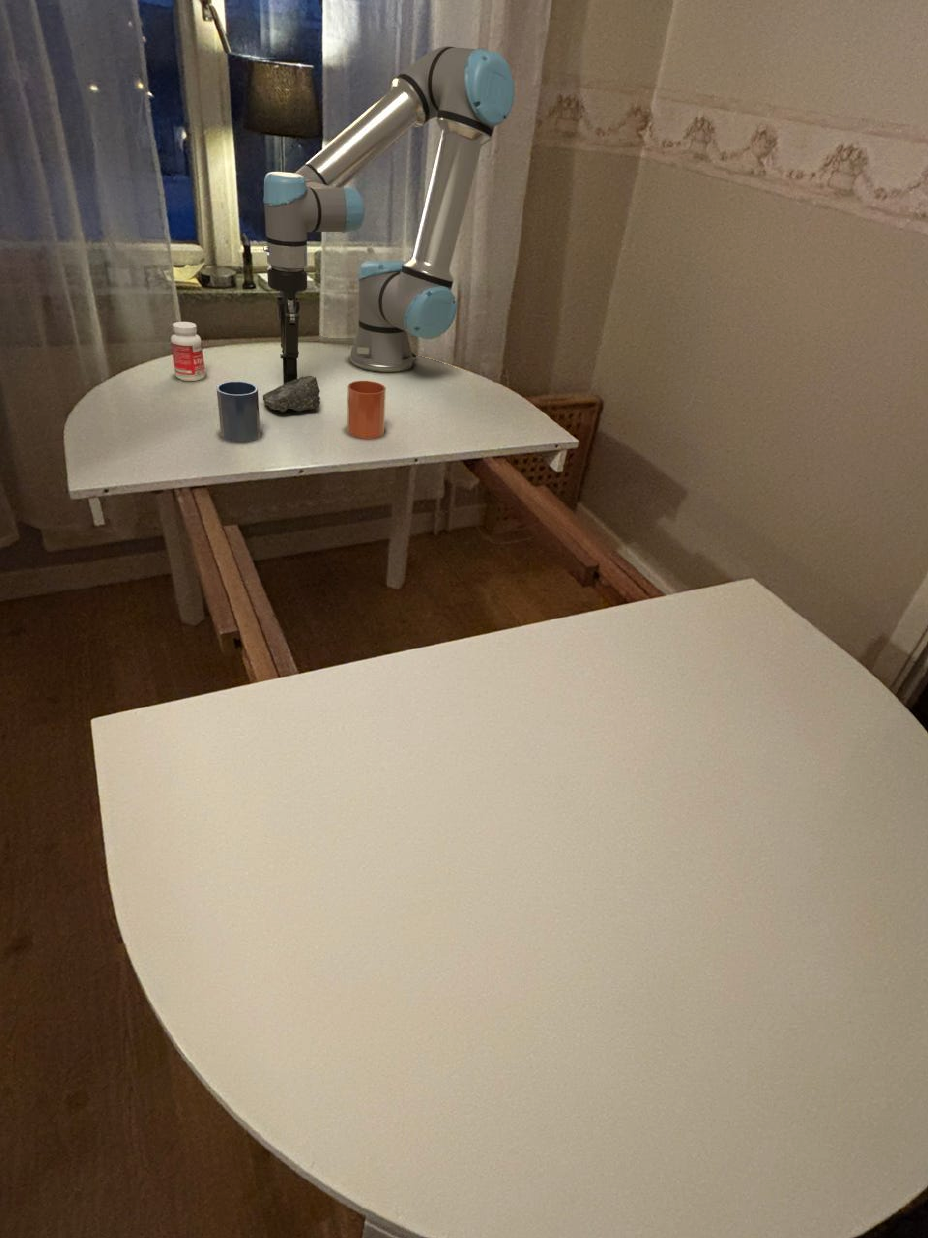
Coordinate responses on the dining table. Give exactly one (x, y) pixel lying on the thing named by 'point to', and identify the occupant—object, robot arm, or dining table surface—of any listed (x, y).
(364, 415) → the orange cup
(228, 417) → the cup
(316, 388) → the rock
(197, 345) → the pill bottle
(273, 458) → the dining table surface
